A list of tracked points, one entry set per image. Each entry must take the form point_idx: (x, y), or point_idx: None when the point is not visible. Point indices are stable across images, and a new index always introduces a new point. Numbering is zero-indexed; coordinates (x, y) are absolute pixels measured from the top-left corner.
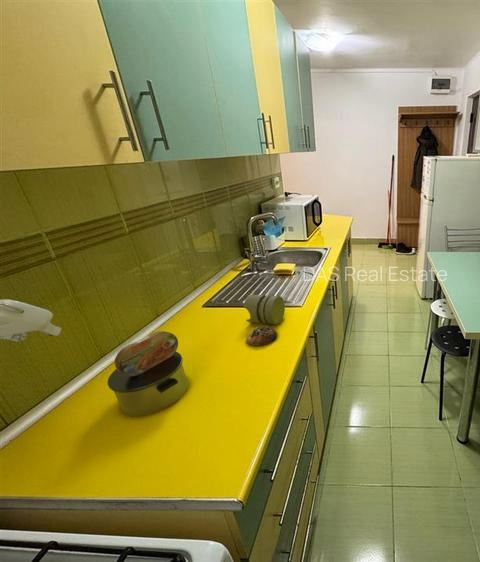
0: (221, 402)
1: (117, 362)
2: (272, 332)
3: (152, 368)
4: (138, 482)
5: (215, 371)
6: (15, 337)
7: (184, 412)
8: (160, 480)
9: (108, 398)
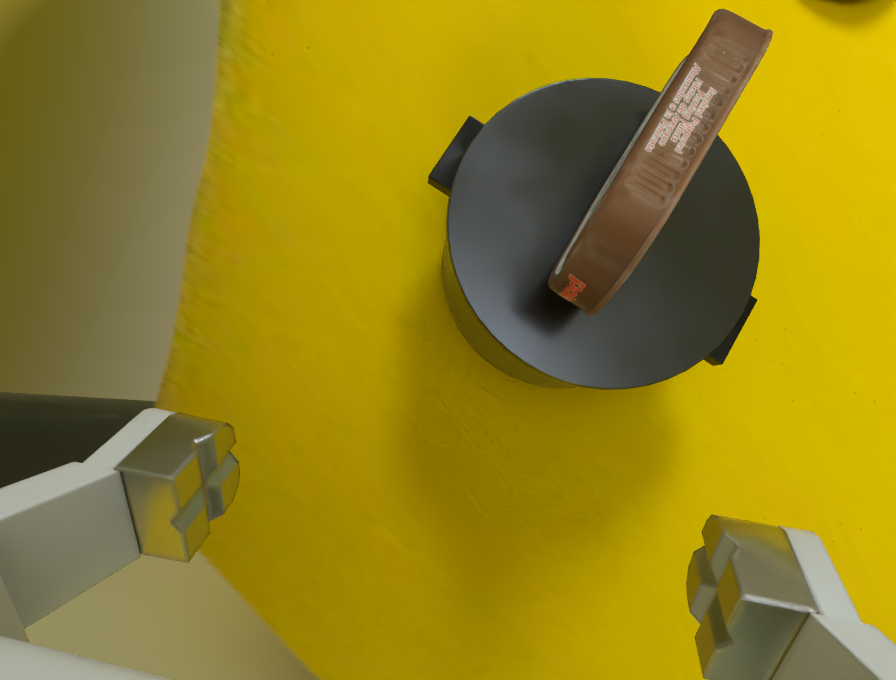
0: (837, 343)
1: (597, 288)
2: None
3: None
4: None
5: None
6: (192, 548)
7: (723, 382)
8: None
9: (366, 271)
